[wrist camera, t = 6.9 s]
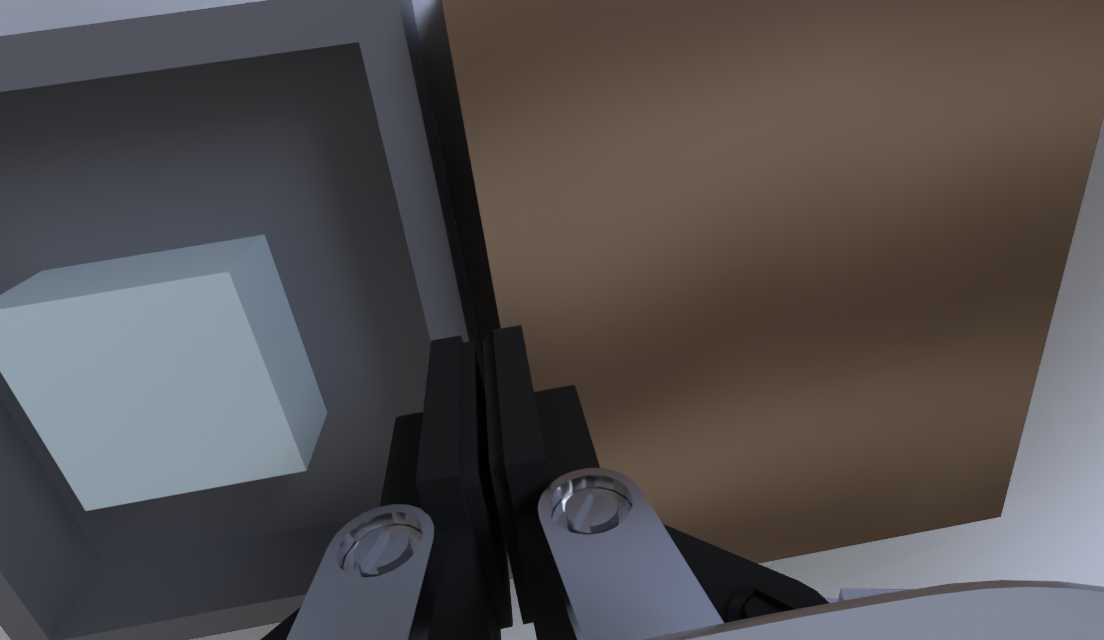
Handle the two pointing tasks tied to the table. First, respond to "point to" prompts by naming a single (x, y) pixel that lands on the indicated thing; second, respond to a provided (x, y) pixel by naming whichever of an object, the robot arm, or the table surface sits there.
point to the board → (785, 242)
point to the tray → (214, 216)
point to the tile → (163, 371)
